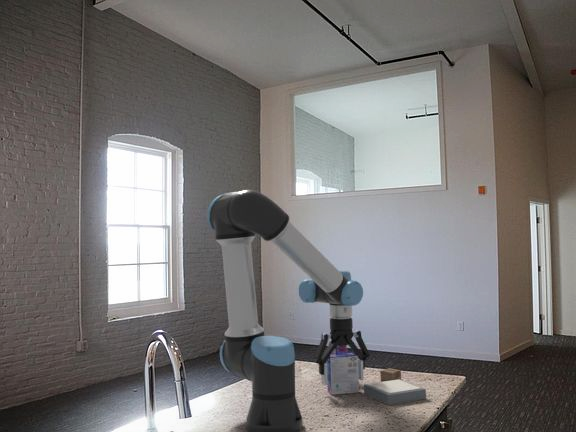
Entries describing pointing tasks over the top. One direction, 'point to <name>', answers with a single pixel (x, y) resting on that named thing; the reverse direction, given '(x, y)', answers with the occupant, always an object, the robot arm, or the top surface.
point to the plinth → (394, 392)
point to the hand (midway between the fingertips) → (342, 382)
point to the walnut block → (390, 374)
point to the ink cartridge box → (342, 372)
